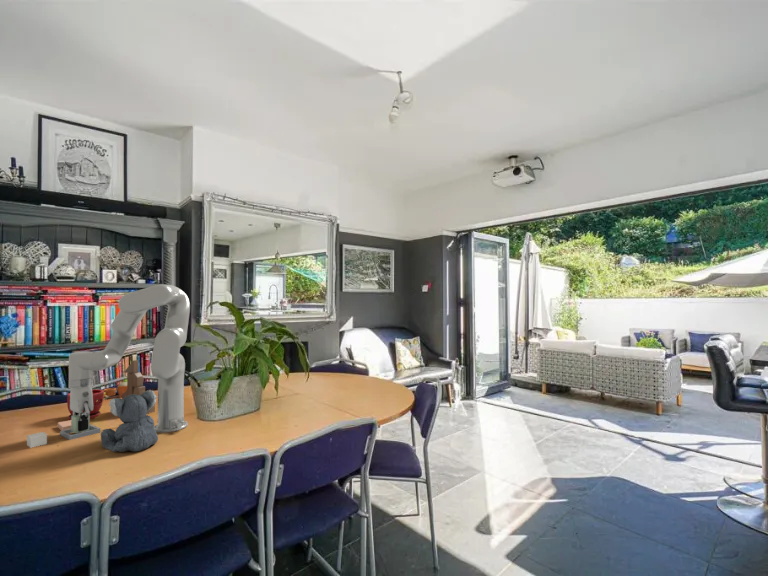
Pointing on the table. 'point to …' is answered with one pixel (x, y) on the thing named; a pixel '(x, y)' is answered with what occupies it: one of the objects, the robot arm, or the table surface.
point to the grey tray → (89, 432)
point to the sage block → (75, 423)
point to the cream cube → (36, 439)
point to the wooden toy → (135, 382)
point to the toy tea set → (112, 391)
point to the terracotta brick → (64, 425)
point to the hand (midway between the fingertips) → (80, 428)
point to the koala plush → (131, 424)
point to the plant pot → (96, 404)
